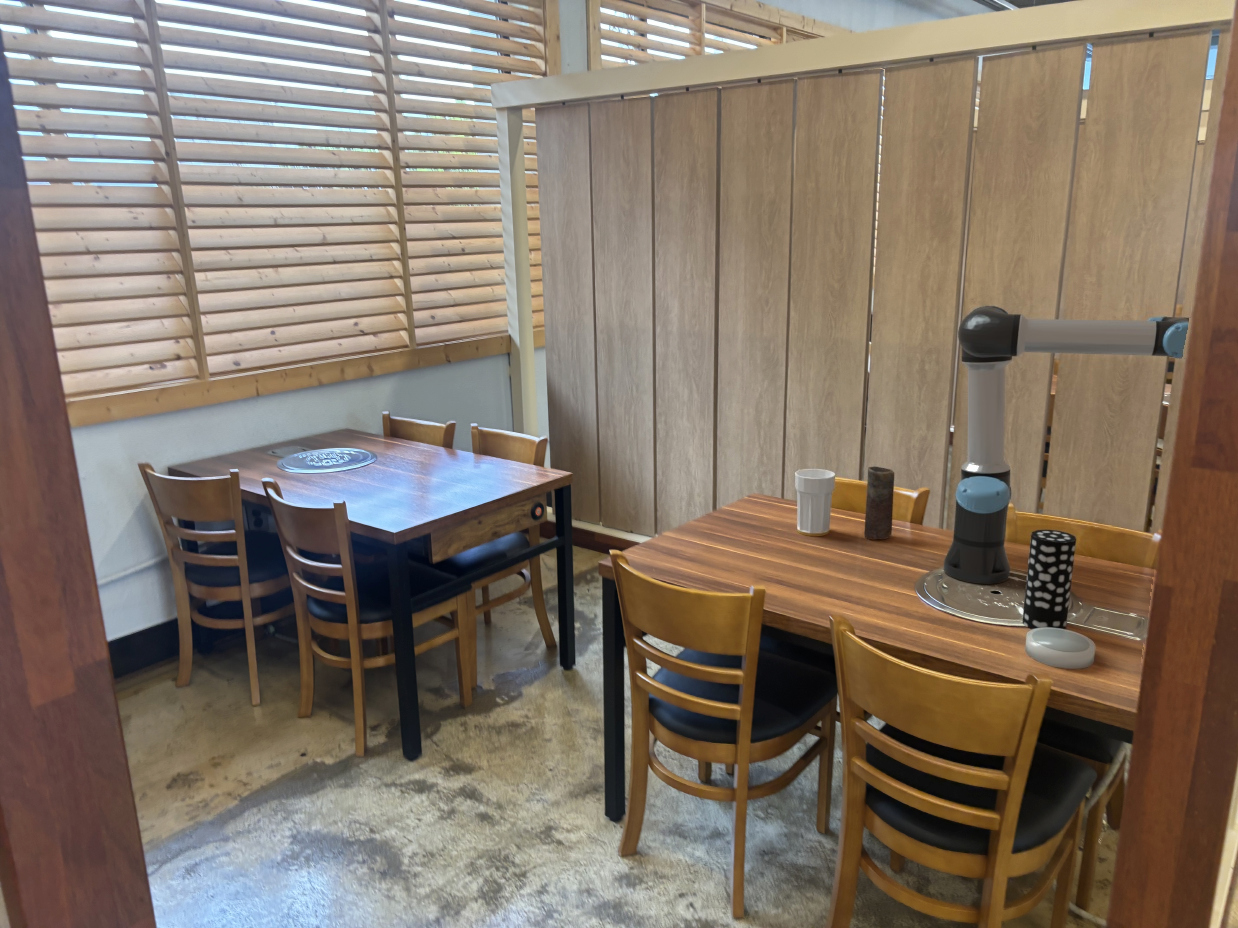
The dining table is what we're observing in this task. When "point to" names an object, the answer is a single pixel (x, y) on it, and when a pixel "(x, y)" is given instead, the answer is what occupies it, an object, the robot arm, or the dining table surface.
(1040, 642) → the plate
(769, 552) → the dining table surface
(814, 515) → the cup
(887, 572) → the dining table surface
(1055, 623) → the spotted tube
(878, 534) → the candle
